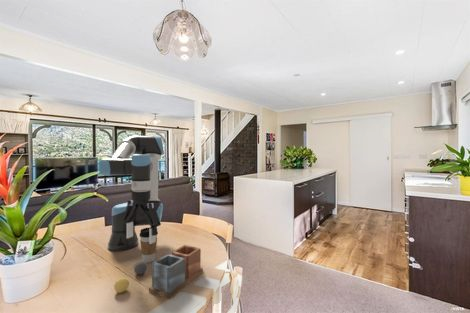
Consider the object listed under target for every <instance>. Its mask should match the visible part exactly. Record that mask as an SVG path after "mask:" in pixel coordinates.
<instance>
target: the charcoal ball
mask: <svg viewBox="0 0 470 313" xmlns="http://www.w3.org/2000/svg"><path fill="white" fill-rule="evenodd" d="M147 267H148V266H147V263H146V262H143V261H138V262H136V263H135V265H134V267H133V271H134V273H135V274H136V275H142V274H144V273H145V272H146V271H147Z"/></svg>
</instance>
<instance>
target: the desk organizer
mask: <svg viewBox="0 0 470 313" xmlns="http://www.w3.org/2000/svg"><path fill="white" fill-rule="evenodd" d="M201 250H202V249H201V248H200V247H196V246H191V245H188V244H187V245H186V244H184V245H181V246H180V247H179V248H176V249H175V250H173V251H171V254H169V253H167V254H166V255H164V256H162V257H160V258H158V259H155V260H154V261H152V262H151V264H152V267H151V271H152V272H151V283H152V284H151V286H149V287H148V293H152V294H154V295H157V296H159V297H162V298H165V299H167V300H171V298H173V297H174V296H175V295H176V294H178V293H179V292H181V290H183V289H184V288H186V287H187V286H188V285H189V284H190V283H191V282H193V281H194V280H195V279H196V278H197V277H199V276H200V275H201V274H202V273H203V272H204V268H202V267H201V264H202V263H201V262H202V260H201Z"/></svg>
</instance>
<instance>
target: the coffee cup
mask: <svg viewBox="0 0 470 313" xmlns="http://www.w3.org/2000/svg"><path fill="white" fill-rule="evenodd" d="M149 228H150V227H145V228H142V229H140V230H139V231H140V232H139V237H140V240H139V243H140V251H141V262H145V263H146V264H147V263H153V262H155V261H156V252H157V242H158V235H159V232H158V231H157V234H156V242H154V243H152V244H149Z"/></svg>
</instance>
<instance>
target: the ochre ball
mask: <svg viewBox="0 0 470 313" xmlns="http://www.w3.org/2000/svg"><path fill="white" fill-rule="evenodd" d="M129 286H130V281H129V279H128V278H127V277H125V276H124V277H123V276H122V277H119V278H118V279H116V281H115V282H114V286H113V288H114V291H115V292H116V293H120V294H121V293H125V291H126V290H128V288H129Z"/></svg>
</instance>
